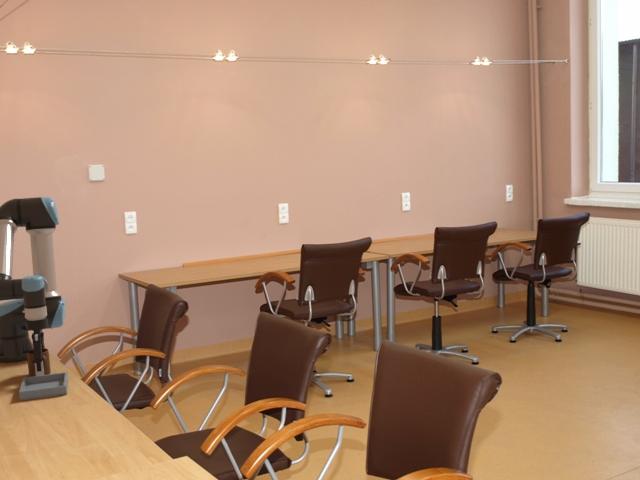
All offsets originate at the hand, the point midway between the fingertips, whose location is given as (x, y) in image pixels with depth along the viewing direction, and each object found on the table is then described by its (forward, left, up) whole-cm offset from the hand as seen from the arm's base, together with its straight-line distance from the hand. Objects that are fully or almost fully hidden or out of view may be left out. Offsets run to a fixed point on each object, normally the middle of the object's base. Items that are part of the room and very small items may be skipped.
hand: (41, 374), depth 265 cm
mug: (0, 0, -1) cm, 1 cm away
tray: (+17, +2, -1) cm, 17 cm away
